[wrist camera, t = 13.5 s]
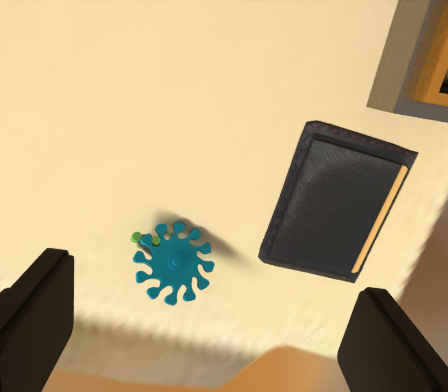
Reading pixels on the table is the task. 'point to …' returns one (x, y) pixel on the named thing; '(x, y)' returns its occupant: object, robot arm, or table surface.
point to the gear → (172, 262)
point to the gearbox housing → (414, 62)
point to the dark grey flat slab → (334, 201)
